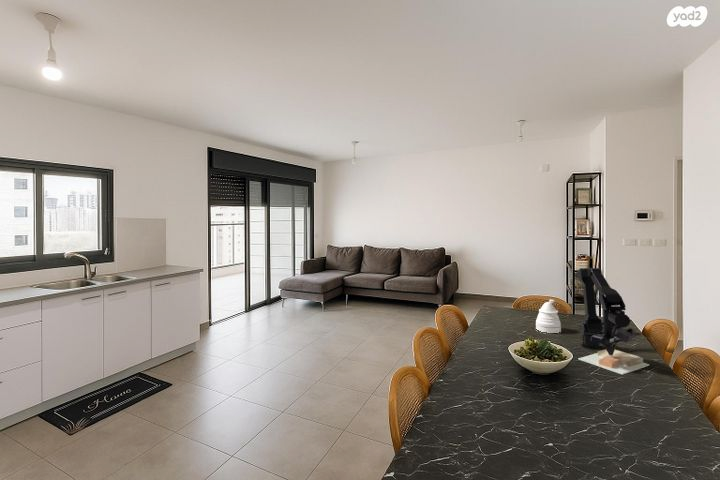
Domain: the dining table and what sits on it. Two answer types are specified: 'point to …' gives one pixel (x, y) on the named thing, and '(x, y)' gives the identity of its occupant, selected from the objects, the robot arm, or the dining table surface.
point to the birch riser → (622, 357)
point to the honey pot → (548, 319)
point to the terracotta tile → (609, 361)
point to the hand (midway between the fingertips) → (610, 355)
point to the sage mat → (618, 369)
